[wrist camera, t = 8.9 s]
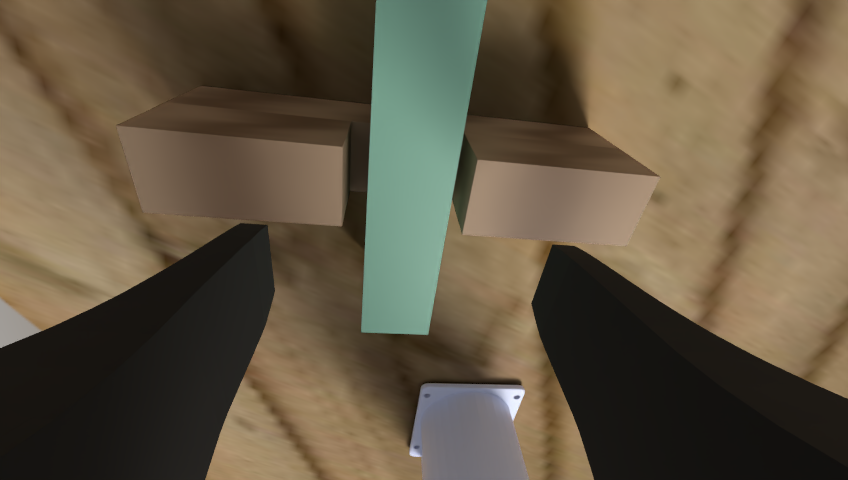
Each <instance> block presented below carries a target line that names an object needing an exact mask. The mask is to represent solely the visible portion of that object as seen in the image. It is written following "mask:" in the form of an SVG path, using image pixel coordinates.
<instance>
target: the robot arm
mask: <svg viewBox="0 0 848 480" xmlns="http://www.w3.org/2000/svg"><path fill="white" fill-rule="evenodd" d="M274 292H275V288H274V279H273V270H272V261H271V252H270V244H269V235H268V226H267V225H259V224H245V223H240V224H239V225H237V226H235V227H233V228H231V229H230V230H228V231H226V232H225V233H223V234H221V235H220V236H218V237H217V238H215V239H213V240H212V241H210V242H209V243H207V244H205V245H204V246H202V247H201V248H199V249H197V250H196V251H194V252H193V253H191V254H189V255H188V256H186V257H184V258H183V259H181V260H180V261H178V262H176V263H175V264H173V265H171V266H170V267H168V268H166V269H164V270H163V271H161V272H159V273H157V274H156V275H154V276H152V277H150V278H148V279H147V280H145V281H143V282H141V283H139V284H138V285H136V286H134V287H132V288H131V289H129V290H127V291H125V292H123V293H122V294H120V295H118V296H116V297H114V298H112V299H110V300H108V301H106V302H104V303H102V304H100V305H98V306H96V307H94V308H92V309H90V310H88V311H85V312H83V313H81V314H79V315H77V316H75V317H73V318H70V319H68V320H66V321H64V322H62V323H60V324H57V325H55V326H53V327H51V328H48V329H46V330H44V331H41V332H39V333H36V334H34V335H32V336H29V337H27V338H24V339H22V340H19V341H17V342H14V343H12V344H9V345H7V346H5V347H2V348H0V480H205V478H206V475H207V472H208V469H209V466H210V463H211V459H212V456H213V453H214V450H215V447H216V444H217V441H218V438H219V435H220V432H221V429H222V426H223V424H224V421H225V419H226V416H227V413H228V411H229V409H230V406H231V404H232V402H233V399H234V397H235V395H236V393H237V390H238V388H239V386H240V383H241V381H242V379H243V377H244V374H245V372H246V370H247V367H248V365H249V363H250V360H251V358H252V356H253V354H254V351H255V349H256V347H257V344H258V342H259V340H260V337H261V335H262V332H263V330H264V328H265V325H266V321H267V318H268V314H269V311H270V307H271V304H272V300H273V296H274ZM531 304H532V308H533V312H534V316H535V320H536V324H537V328H538V331H539V335H540V338H541V340H542V343H543V345H544V348H545V350H546V353H547V355H548V357H549V360H550V362H551V365H552V367H553V369H554V372H555V374H556V376H557V379H558V381H559V383H560V386H561V388H562V390H563V393H564V395H565V397H566V400H567V402H568V404H569V407H570V409H571V411H572V414H573V416H574V419H575V422H576V424H577V427H578V429H579V432H580V435H581V438H582V441H583V445H584V448H585V451H586V454H587V457H588V461H589V464H590V467H591V470H592V473H593V477H594V480H848V399H847V398H844V397H842V396H840V395H838V394H835V393H833V392H831V391H828V390H826V389H824V388H821V387H819V386H817V385H815V384H812V383H810V382H808V381H806V380H804V379H802V378H800V377H798V376H795V375H793V374H791V373H789V372H787V371H785V370H783V369H781V368H778V367H776V366H774V365H772V364H770V363H768V362H766V361H764V360H762V359H760V358H758V357H756V356H754V355H752V354H750V353H748V352H746V351H744V350H742V349H741V348H739V347H737V346H735V345H733V344H731V343H729V342H728V341H726V340H724V339H722V338H720V337H718V336H716V335H715V334H713V333H711V332H709V331H708V330H706V329H704V328H702V327H701V326H699V325H697V324H695V323H694V322H692V321H690V320H689V319H687V318H686V317H684V316H682V315H681V314H679V313H677V312H676V311H674V310H673V309H671V308H669V307H668V306H666V305H665V304H663V303H662V302H660V301H658V300H657V299H655V298H654V297H652V296H651V295H649V294H648V293H646V292H645V291H643V290H642V289H640V288H639V287H637V286H636V285H634V284H633V283H631V282H630V281H628V280H627V279H625V278H624V277H622V276H621V275H620V274H618V273H617V272H615V271H614V270H612V269H611V268H609V267H608V266H606V265H605V264H603V263H602V262H600V261H599V260H597V259H596V258H594V257H593V256H591V255H589V254H588V253H586V252H585V251H583V250H581V249H579V248H577V247H575V246H567V245H552V248H551V250H550V253H549V256H548V259H547V261H546V264H545V267H544V270H543V273H542V275H541V278H540V281H539V284H538V287H537V289H536V292H535V295H534V298H533V300H532V303H531ZM524 393H525V390H524V387H523V386H521V385H494V384H447V383H425V384H423V385H422V386H421V389H420V395H419V400H418V406H417V411H416V417H415V422H414V427H413V433H412V438H411V444H410V449H409V452H410V455H411V456H415V457H421V461H422V478H423V480H529V477H528V474H527V470H526V466H525V463H524V459H523V456H522V452H521V449H520V445H519V441H518V438H517V434H516V431H515V427H514V423H513V420H514V417H515V415H516V413H517V410H518V408H519V405H520V403H521V401H522V398H523V396H524Z"/></svg>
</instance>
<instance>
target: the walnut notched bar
mask: <svg viewBox="0 0 848 480" xmlns="http://www.w3.org/2000/svg"><path fill="white" fill-rule="evenodd" d="M370 125H371V104H363V103H354V102H345V101H336V100H326V99H317V98H308V97H299V96H289V95H280V94H271V93H262V92H252V91H243V90H234V89H225V88H216V87H206V86H199V87H197V88H195V89H193V90H191V91H188V92H186V93H184V94H182V95H180V96H178V97H176V98H174V99H171V100H169V101H167V102H165V103H163V104H161V105H159V106H157V107H154V108H152V109H150V110H148V111H146V112H144V113H142V114H140V115H137V116H135V117H133V118H131V119H129V120H127V121H125V122H123V123H121V124H118V125H116V128H117V131H118V134H119V137H120V141H121V144H122V147H123V150H124V154H125V157H126V160H127V163H128V166H129V170H130V173H131V176H132V179H133V183H134V186H135V189H136V192H137V196H138V199H139V202H140V205H141V208H142V212H143V213H156V214H170V215H184V216H199V217H213V218H228V219H242V220H257V221H271V222H285V223H300V224H314V225H329V226H342V224H343V220H344V215H345V211H346V206H347V202H348V197H349V193H350V191H357V192H368V170H369V147H370ZM659 179H660V176H658V175H657V174H655V173H654V172H652V171H651V170H650V169H648V168H647V167H645V166H644V165H642V164H641V163H639V162H638V161H636V160H635V159H633V158H632V157H631V156H629V155H628V154H626V153H625V152H623V151H622V150H620V149H619V148H617V147H616V146H614V145H613V144H612V143H610V142H609V141H607V140H606V139H604V138H603V137H601V136H600V135H598V134H597V133H595V132H594V131H593V130H591V129H590V128H585V127H575V126H566V125H557V124H548V123H538V122H529V121H520V120H511V119H502V118H492V117H483V116H474V115H467V117H466V123H465V129H464V134H463V140H462V146H461V151H460V157H459V162H458V168H457V174H456V179H455V185H454V191H453V196H452V200H453V204H454V207H455V211H456V214H457V218H458V221H459V225H460V228H461V232H462V235H473V236H487V237H502V238H516V239H531V240H545V241H560V242H574V243H588V244H603V245H617V246H627V245H628V242H629V240H630V238H631V236H632V234H633V232H634V230H635V228H636V226H637V224H638V222H639V220H640V218H641V216H642V214H643V212H644V210H645V208H646V205H647V203H648V201H649V199H650V197H651V195H652V193H653V191H654V189H655V187H656V185H657V183H658V181H659Z"/></svg>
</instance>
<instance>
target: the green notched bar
mask: <svg viewBox="0 0 848 480" xmlns="http://www.w3.org/2000/svg"><path fill="white" fill-rule="evenodd" d="M486 4H487V0H376V14H375V36H374V58H373V81H372V103H371V125H370V147H369V170H368V192H367V214H366V236H365V259H364V281H363V303H362V325H361V332H365V333H393V334H421V335H428V332H429V326H430V321H431V315H432V309H433V304H434V298H435V292H436V287H437V281H438V275H439V270H440V264H441V258H442V253H443V247H444V242H445V236H446V230H447V225H448V219H449V213H450V208H451V202H452V196H453V191H454V185H455V179H456V174H457V168H458V162H459V157H460V151H461V146H462V140H463V134H464V129H465V123H466V117H467V112H468V106H469V100H470V95H471V89H472V83H473V78H474V72H475V66H476V61H477V55H478V50H479V44H480V38H481V33H482V27H483V21H484V16H485V10H486Z"/></svg>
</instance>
